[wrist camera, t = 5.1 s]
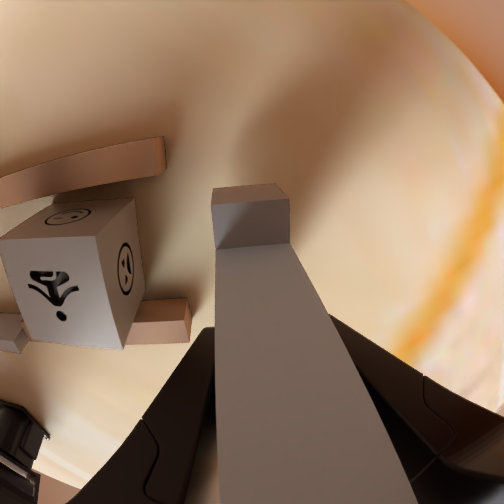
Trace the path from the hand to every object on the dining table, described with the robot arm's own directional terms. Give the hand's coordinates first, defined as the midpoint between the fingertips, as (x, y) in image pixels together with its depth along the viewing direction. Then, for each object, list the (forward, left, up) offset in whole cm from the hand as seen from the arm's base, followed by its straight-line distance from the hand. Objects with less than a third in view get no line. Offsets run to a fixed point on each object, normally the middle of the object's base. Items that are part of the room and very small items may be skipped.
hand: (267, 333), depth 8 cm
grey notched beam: (0, 0, -6) cm, 6 cm away
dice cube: (-8, 0, -8) cm, 11 cm away
